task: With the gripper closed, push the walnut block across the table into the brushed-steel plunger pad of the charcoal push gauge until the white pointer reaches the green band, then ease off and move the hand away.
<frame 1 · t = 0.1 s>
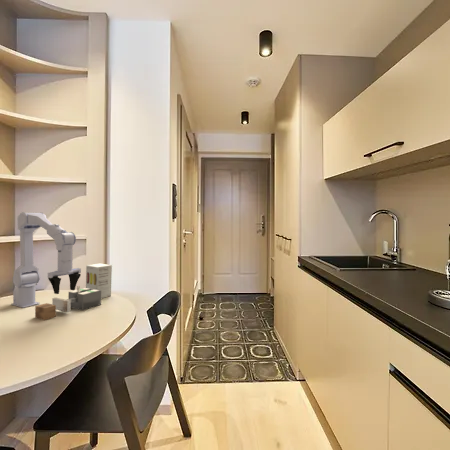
hand: (64, 291, 136), 10 cm above the table, fingers open, 7 cm apart
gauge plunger: (70, 297, 143), point 6 cm above the table, slide at 0.0 cm
gauge housing: (69, 310, 143), on the table
walnut block: (45, 317, 133), on the table
supplement box: (98, 296, 168), on the table
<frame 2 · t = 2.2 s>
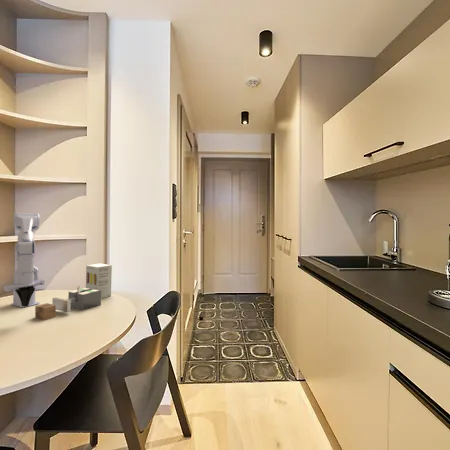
hand: (25, 305, 125), 7 cm above the table, fingers closed
nothing on the table moved.
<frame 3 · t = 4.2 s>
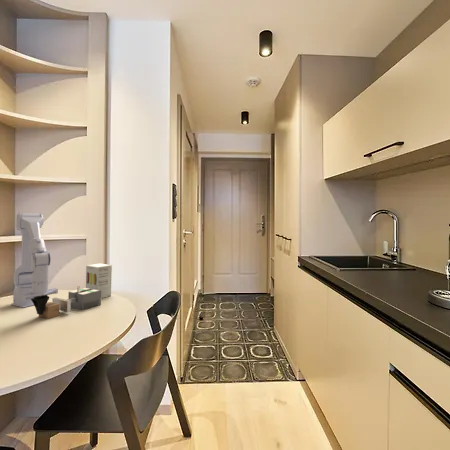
hand: (40, 314, 131), 2 cm above the table, fingers closed
walnut block: (48, 316, 134), on the table, touching gripper
everything else where it was.
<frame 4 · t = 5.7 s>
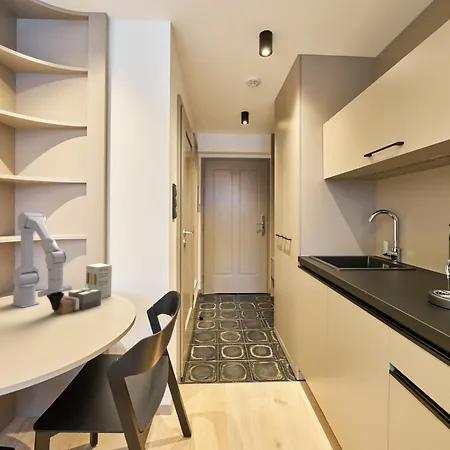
hand: (55, 309, 137), 2 cm above the table, fingers closed
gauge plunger: (78, 295, 147), point 6 cm above the table, slide at 4.3 cm, touching walnut block
walnut block: (63, 311, 140), on the table, touching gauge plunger, gripper
everything else where it was.
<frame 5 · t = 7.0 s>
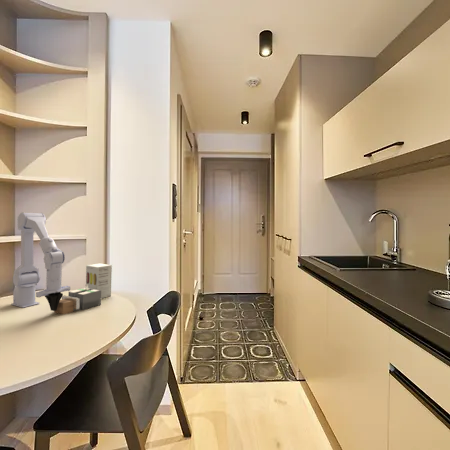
hand: (53, 310, 136), 2 cm above the table, fingers closed
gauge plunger: (79, 295, 147), point 6 cm above the table, slide at 4.5 cm
walnut block: (63, 312, 140), on the table
everything else where it was.
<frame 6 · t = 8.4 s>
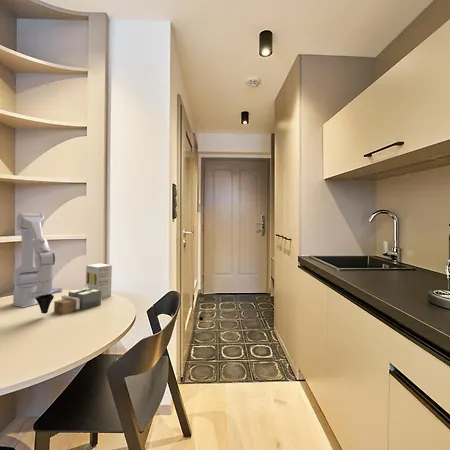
hand: (44, 312, 132), 2 cm above the table, fingers closed
nothing on the table moved.
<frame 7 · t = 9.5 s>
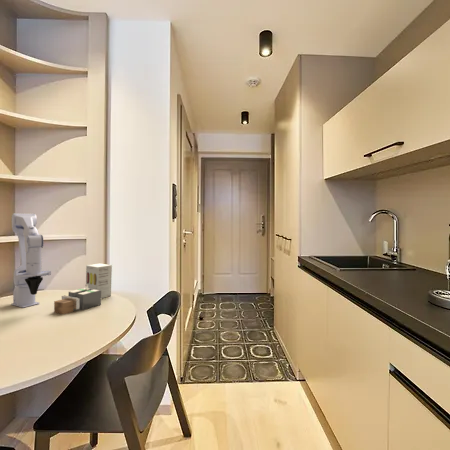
hand: (33, 294, 137), 8 cm above the table, fingers closed
nothing on the table moved.
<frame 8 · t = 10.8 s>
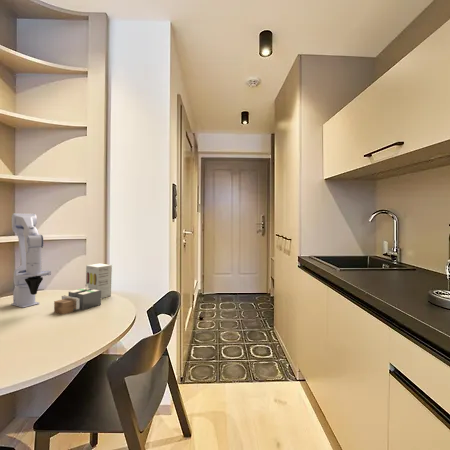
hand: (33, 294, 137), 8 cm above the table, fingers closed
nothing on the table moved.
at the end: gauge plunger slide at 4.5 cm; walnut block tilted 0°; the gripper is holding nothing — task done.
